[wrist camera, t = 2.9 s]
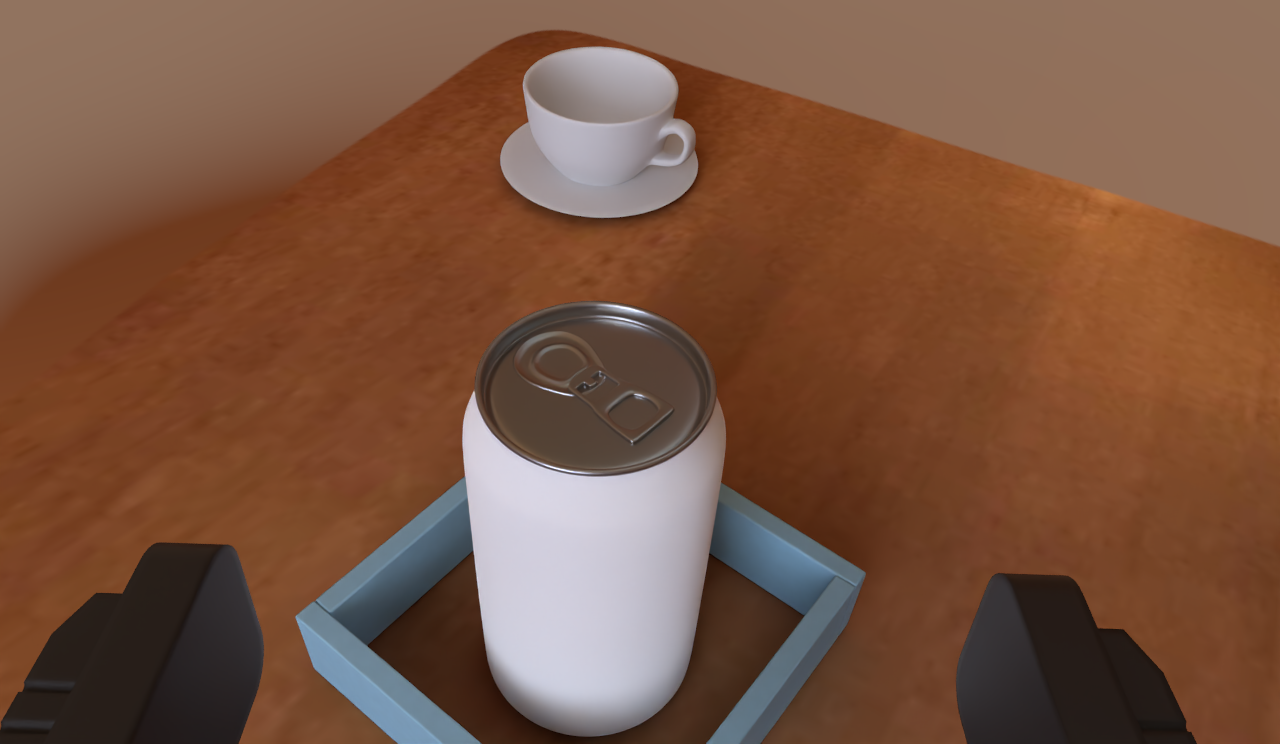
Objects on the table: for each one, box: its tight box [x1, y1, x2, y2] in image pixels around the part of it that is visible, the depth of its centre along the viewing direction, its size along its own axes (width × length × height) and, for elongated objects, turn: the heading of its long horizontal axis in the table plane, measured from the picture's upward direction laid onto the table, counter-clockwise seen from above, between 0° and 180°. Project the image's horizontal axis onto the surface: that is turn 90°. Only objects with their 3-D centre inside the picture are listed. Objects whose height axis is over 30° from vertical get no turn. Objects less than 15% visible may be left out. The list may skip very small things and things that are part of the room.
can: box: [462, 301, 726, 737], centre depth 27 cm, size 6×6×12 cm
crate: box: [296, 477, 866, 744], centre depth 30 cm, size 12×12×3 cm
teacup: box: [500, 47, 698, 218], centre depth 49 cm, size 10×10×5 cm
